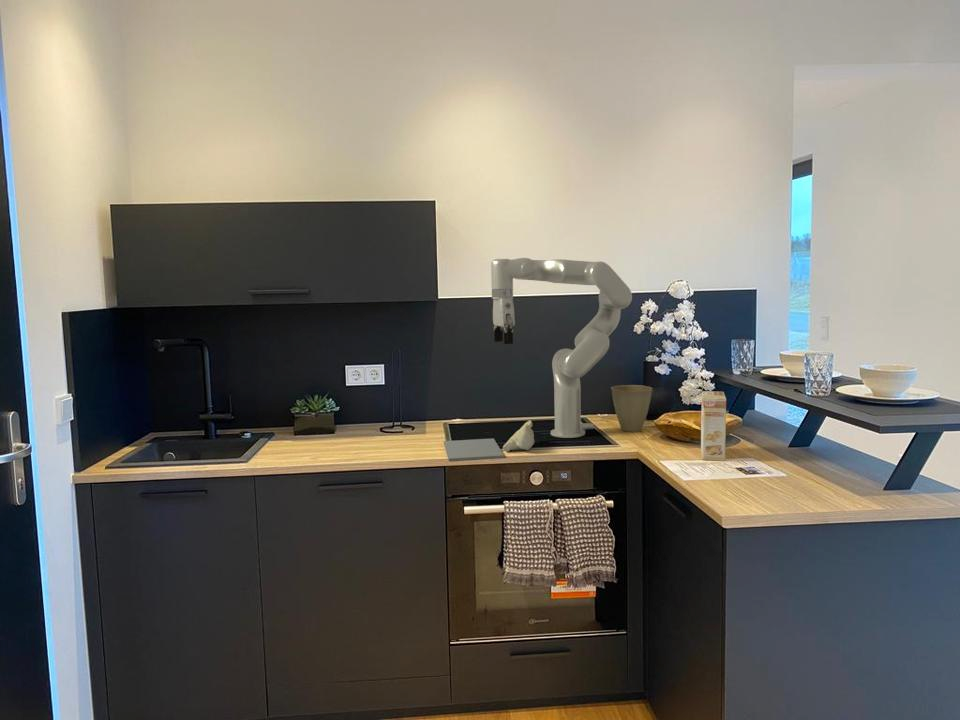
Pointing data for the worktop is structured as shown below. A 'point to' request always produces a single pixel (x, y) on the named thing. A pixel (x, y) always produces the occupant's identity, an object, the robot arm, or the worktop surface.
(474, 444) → the mat
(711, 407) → the coffeecake box
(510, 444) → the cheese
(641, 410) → the plant pot
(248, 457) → the worktop surface
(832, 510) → the worktop surface
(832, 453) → the worktop surface
